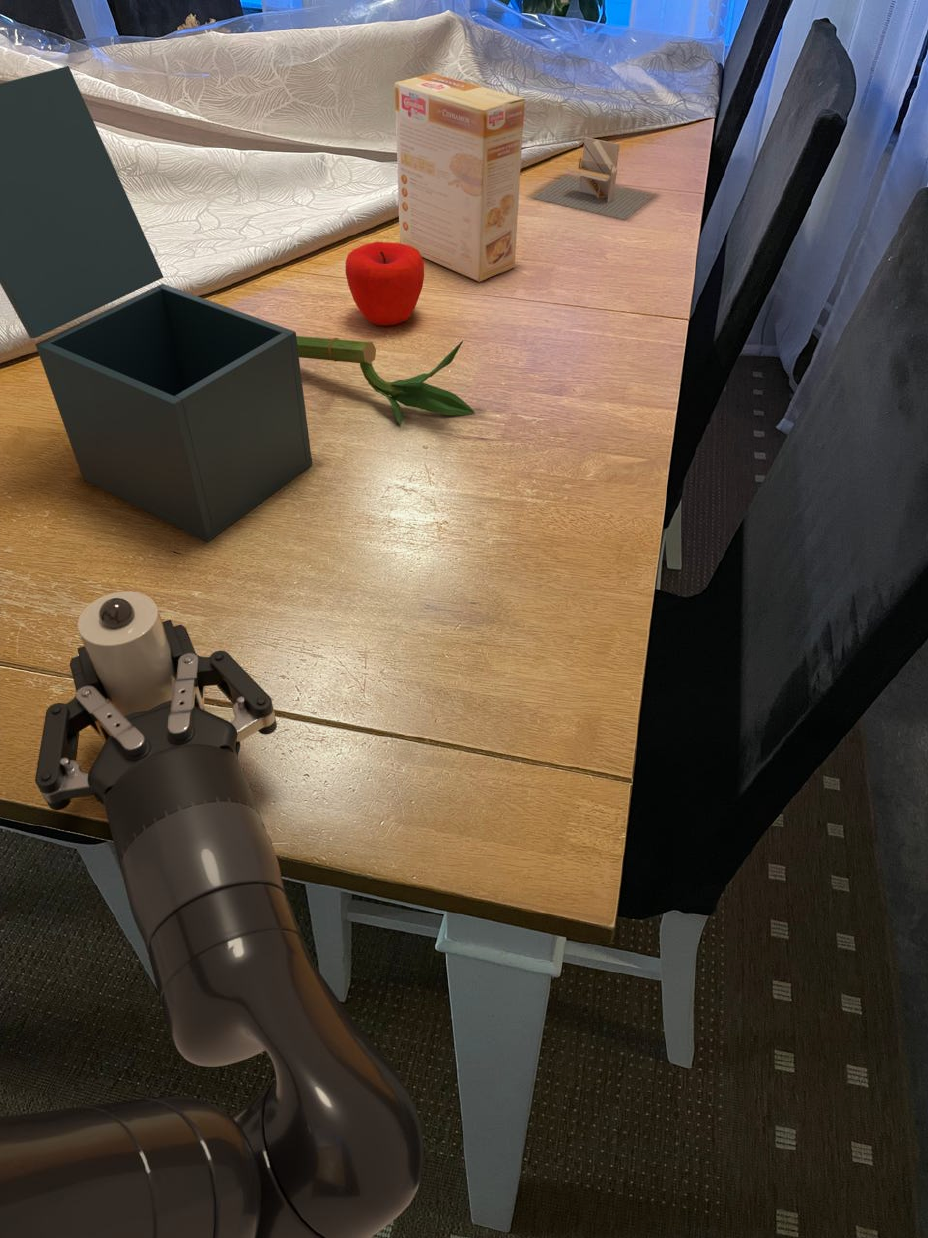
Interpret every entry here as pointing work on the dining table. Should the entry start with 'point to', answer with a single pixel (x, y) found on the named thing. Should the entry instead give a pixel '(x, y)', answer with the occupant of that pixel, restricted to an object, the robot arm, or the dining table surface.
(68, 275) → the lid
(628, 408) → the dining table surface
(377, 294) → the apple
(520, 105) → the coffeecake box
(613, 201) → the architectural model
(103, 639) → the pepper mill
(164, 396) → the chest
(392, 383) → the decorative plant
